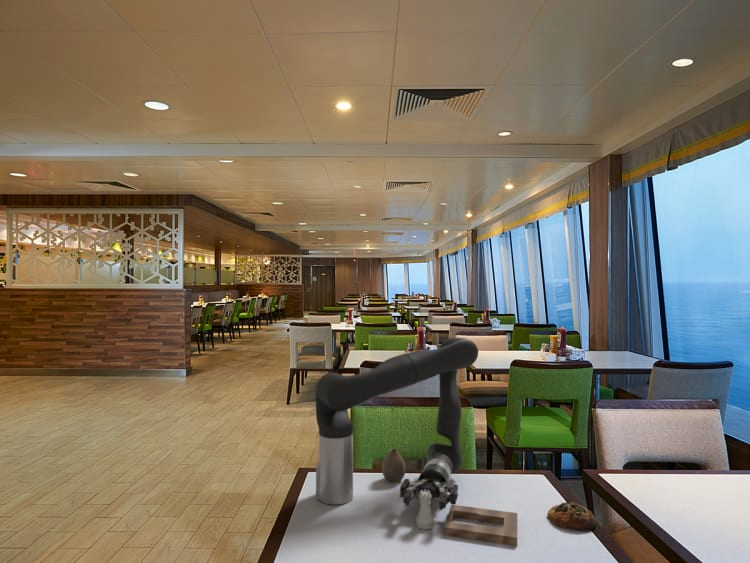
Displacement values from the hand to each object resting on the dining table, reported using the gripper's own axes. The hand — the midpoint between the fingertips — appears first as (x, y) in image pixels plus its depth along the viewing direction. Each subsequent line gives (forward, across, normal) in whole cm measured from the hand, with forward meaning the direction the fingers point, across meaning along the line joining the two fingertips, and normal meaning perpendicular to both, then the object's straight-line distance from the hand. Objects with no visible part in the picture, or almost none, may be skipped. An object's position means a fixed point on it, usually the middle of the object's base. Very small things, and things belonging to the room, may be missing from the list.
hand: (423, 503), depth 110 cm
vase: (-26, -14, +6) cm, 30 cm away
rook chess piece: (-2, 0, +6) cm, 7 cm away
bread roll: (-15, +34, +6) cm, 37 cm away
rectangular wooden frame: (-5, +13, +6) cm, 15 cm away
